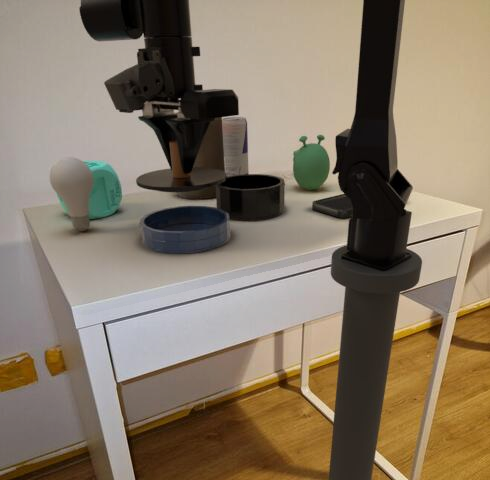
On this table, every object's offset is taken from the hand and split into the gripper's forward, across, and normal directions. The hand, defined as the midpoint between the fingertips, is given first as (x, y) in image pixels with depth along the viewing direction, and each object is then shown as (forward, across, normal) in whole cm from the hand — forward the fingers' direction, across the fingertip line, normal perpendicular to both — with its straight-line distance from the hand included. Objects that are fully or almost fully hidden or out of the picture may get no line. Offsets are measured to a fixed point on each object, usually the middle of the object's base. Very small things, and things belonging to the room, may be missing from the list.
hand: (181, 171), depth 64 cm
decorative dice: (+10, -23, -3) cm, 25 cm away
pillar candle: (+10, -19, +18) cm, 28 cm away
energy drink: (+10, -23, +31) cm, 40 cm away
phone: (+10, +9, +30) cm, 33 cm away
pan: (+10, 0, 0) cm, 10 cm away
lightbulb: (+10, -15, -9) cm, 20 cm away
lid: (+1, 0, 0) cm, 1 cm away
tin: (+10, -3, +16) cm, 19 cm away
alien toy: (+10, -5, +34) cm, 36 cm away
